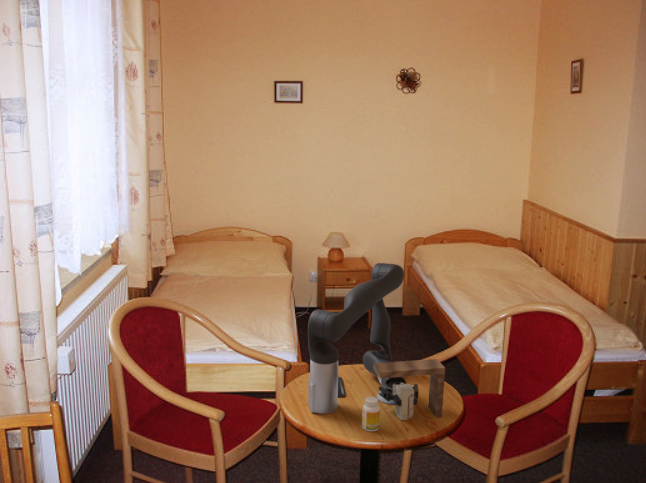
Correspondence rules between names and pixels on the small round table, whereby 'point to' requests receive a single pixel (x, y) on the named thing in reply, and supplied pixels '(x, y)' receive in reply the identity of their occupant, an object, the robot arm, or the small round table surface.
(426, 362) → the walnut shelf
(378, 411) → the supplement bottle
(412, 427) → the small round table surface
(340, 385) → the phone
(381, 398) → the rubber coaster
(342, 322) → the robot arm
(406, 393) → the skincare box
